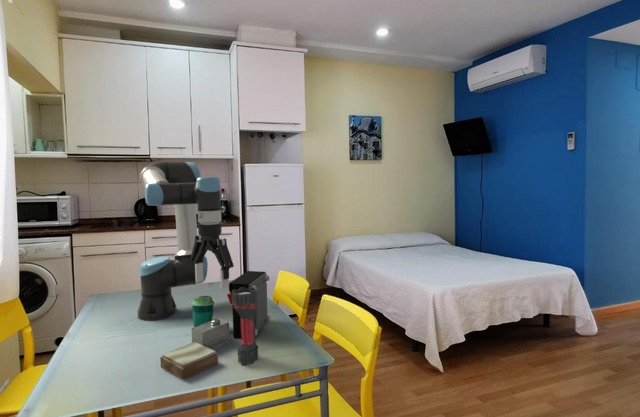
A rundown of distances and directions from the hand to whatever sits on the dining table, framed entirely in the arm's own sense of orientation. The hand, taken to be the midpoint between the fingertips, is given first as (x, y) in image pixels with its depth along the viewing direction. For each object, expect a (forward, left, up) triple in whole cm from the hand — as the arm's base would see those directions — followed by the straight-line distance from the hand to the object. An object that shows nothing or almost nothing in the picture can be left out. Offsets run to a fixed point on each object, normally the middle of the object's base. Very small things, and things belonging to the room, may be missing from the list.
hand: (211, 285), depth 129 cm
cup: (-13, +5, -21) cm, 25 cm away
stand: (+7, -14, -21) cm, 26 cm away
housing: (0, -1, -21) cm, 21 cm away
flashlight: (+19, -2, -21) cm, 28 cm away
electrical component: (+1, +16, -21) cm, 26 cm away
